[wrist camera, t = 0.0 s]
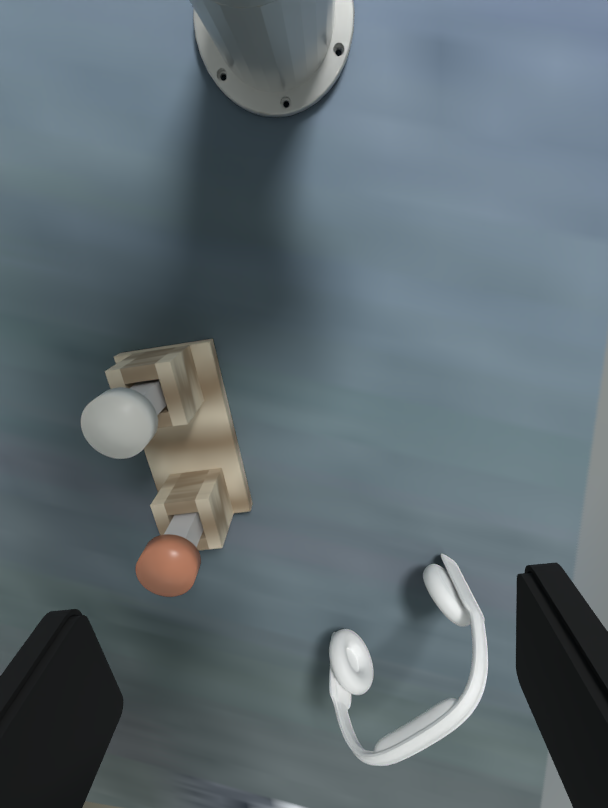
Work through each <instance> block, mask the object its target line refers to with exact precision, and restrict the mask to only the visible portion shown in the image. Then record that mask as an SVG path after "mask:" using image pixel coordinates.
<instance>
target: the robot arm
mask: <svg viewBox="0 0 608 808" xmlns="http://www.w3.org/2000/svg"><path fill="white" fill-rule="evenodd" d="M189 1H190V2H191V4H192V6H193V7H194V8H193V21H194V29H195V37H196V41H197V45H198V48H199V52H200V55H201V58H202V60H203V62H204V64H205V66H206V68H207V71H208V73H209V74H210V76H211V77H212V79H213V80H214V82H215V83H216V84H217V86H218V87H219V88H220V89H221V91H222V92H223V93H224V94H225V95H226V96H227V97H228V98H229V99H231V100H232V101H233V102H234V103H235V104H236V105H238V106H240V107H242V108H243V109H245V110H247V111H249V112H251V113H254V114H258V115H261V116H266V117H284V116H291V115H294V114H297V113H299V112H302V111H304V110H306V109H308V108H309V107H311V106H312V105H314V104H316V103H317V102H318V101H319V100H320V99H321V98H322V97H324V96H325V95H326V94H327V93H328V92H329V90H330V89H331V88H332V86H333V85H334V83H335V82H336V81H337V79H338V78H339V76H340V74H341V72H342V70H343V68H344V65H345V63H346V61H347V57H348V54H349V51H350V47H351V43H352V36H353V29H354V2H353V0H189ZM337 50H340V51H341V53H342V54H341V55H340V56H337V55H336V54H335V52H336V51H337ZM223 75H226V76H227V78H226V80H225V81H222V80H221V77H222V76H223ZM285 102H288V103H289V107H288V108H285V107H284V106H283V105H284V103H285ZM516 671H517V676H518V680H519V683H520V686H521V688H522V690H523V693H524V695H525V697H526V700H527V702H528V704H529V707H530V709H531V711H532V714H533V716H534V718H535V720H536V723H537V725H538V727H539V730H540V732H541V734H542V737H543V739H544V741H545V743H546V746H547V748H548V750H549V753H550V755H551V757H552V760H553V762H554V764H555V767H556V769H557V771H558V773H559V776H560V778H561V780H562V783H563V785H564V787H565V790H566V792H567V794H568V796H569V799H570V801H571V803H572V806H573V808H608V631H607V630H606V629H605V627H604V626H603V625H602V623H601V622H600V620H599V619H598V618H597V616H596V615H595V613H594V612H593V611H592V609H591V608H590V607H589V605H588V604H587V602H586V601H585V599H584V598H583V596H582V595H581V594H580V592H579V591H578V589H577V588H576V587H575V585H574V584H573V582H572V581H571V580H570V578H569V577H568V575H567V574H566V573H565V571H564V570H563V568H562V567H561V566H560V565H559V564H558V563H547V564H537V565H528V566H526V568H525V573H523V574H518V575H517V611H516ZM122 710H123V696H122V694H121V691H120V689H119V687H118V685H117V682H116V680H115V678H114V676H113V673H112V671H111V669H110V667H109V664H108V662H107V660H106V658H105V655H104V653H103V651H102V649H101V647H100V644H99V642H98V640H97V638H96V635H95V633H94V631H93V629H92V626H91V624H90V622H89V620H88V618H87V617H86V616H85V615H82V613H81V612H80V611H79V610H77V609H71V610H61V611H51V612H49V613H47V614H46V615H45V616H44V617H43V619H42V620H41V621H40V623H39V624H38V625H37V627H36V628H35V630H34V631H33V632H32V634H31V635H30V636H29V638H28V639H27V641H26V642H25V643H24V645H23V646H22V647H21V649H20V650H19V651H18V653H17V654H16V656H15V657H14V658H13V660H12V661H11V662H10V664H9V665H8V667H7V668H6V669H5V671H4V672H3V673H2V675H1V676H0V808H82V807H83V805H84V802H85V800H86V798H87V795H88V793H89V790H90V788H91V786H92V783H93V781H94V779H95V776H96V774H97V771H98V769H99V767H100V764H101V762H102V759H103V757H104V755H105V752H106V750H107V748H108V745H109V743H110V740H111V738H112V736H113V733H114V731H115V729H116V726H117V724H118V721H119V719H120V717H121V714H122Z"/></svg>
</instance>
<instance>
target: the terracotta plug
mask: <svg viewBox="0 0 608 808" xmlns="http://www.w3.org/2000/svg"><path fill="white" fill-rule="evenodd" d="M202 533H203V526H202V523H201V519H200V516H199V513H198V512H194V513H185V514H177V515H174V516H173V518H172V520H171V522H170V524H169V526H168V528H167V529H166V531H165V533H164V535H160V536H157V537H155V538H153V539H152V540H151V541H149V543H148V544H147V545H146V547H145V549H144V551H143V552H142V554H141V556H140V558H139V560H138V561H137V564H136V575H137V578H138V580H139V581H140V583H141V584H142V585H143V586H144V587H145V588H146V589H147V590H149V591H151V592H152V593H155V594H157V595H161V596H166V597H173V596H179V595H182V594H184V593H186V592H187V591H188V590H189V589H190V588H191V587H192V586H193V584H194V581H195V578H196V576H197V573H198V570H199V568H200V564H201V557H200V553H199V551H198V549H197V548H196V547H197V545H198V542H199V540H200V537H201V535H202Z"/></svg>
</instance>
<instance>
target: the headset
mask: <svg viewBox="0 0 608 808" xmlns="http://www.w3.org/2000/svg"><path fill="white" fill-rule="evenodd" d="M441 558H442V560H443V562H444V565H445V567H446V569H447V571H448V572H447V571H446V570H445V569H444V568H443V567H441V566H439V565H437V564H430V565H428V566H427V567H426V568H425V570H424V572H423V580H424V583H425V586H426V588H427V590H428V592H429V594H430V596H431V597H432V599H433V601H434V602H435V603H436V605H437V606H438V608H439V609H440V610H441V611H442V612H443V614H444V615H445V616H446V617H447V618H448V619H449V620H450V621H452V622H453V623H454V624H456V625H458V626H462V627H463V626H468V625H469V624H471V631H472V665H471V671H470V675H469V679H468V682H467V685H466V687H465V689H464V691H463V693H462V694H461V696H460V697H459V699H458V700H457V699H455V698H448V699H445V700H443V701H441V702H439V703H438V704H436V705H434V706H433V707H431V708H430V709H428V710H427V711H425V712H424V713H422V714H421V715H419V716H418V717H416V718H415V719H413V720H411V721H410V722H408V723H407V724H405V725H403V726H402V727H400V728H398V729H396V730H395V731H393V732H391V733H389V734H387V735H386V736H384V737H382V738H381V739H380V740H379V741H378V742H377V744H376V745H375V748H374V751H367V750H364V748H363V747H362V746H361V744H360V743H359V741H358V739H357V737H356V735H355V733H354V730H353V727H352V724H351V721H350V717H349V714H348V709H349V708H350V705H351V694H354V695H361V694H364V693H365V692H367V691H368V689H369V688H370V686H371V684H372V681H373V664H372V659H371V656H370V653H369V651H368V649H367V647H366V645H365V643H364V642H363V640H362V639H361V638H360V636H359V635H358V634H356V633H355V632H354V631H352V630H350V629H341V630H339V631H337V632H333V633H332V636H331V641H330V646H329V658H330V678H329V689H330V695H331V698H332V700H333V703H334V707H335V711H336V715H337V719H338V723H339V726H340V729H341V732H342V734H343V737H344V739H345V741H346V743H347V744H348V746H349V747H350V748H351V750H352V751H353V753H354V754H355V755H356V757H357V758H358V759H360V760H361V761H362V762H364V763H366V764H369V765H377V766H386V765H391V764H394V763H397V762H400V761H402V760H404V759H406V758H408V757H410V756H412V755H414V754H416V753H418V752H420V751H422V750H423V749H425V748H427V747H429V746H430V745H432V744H434V743H435V742H437V741H439V740H440V739H442V738H443V737H445V736H446V735H448V734H449V733H451V732H452V731H453V730H455V729H456V728H457V727H459V726H460V725H461V724H462V723H463V722H464V721H465V720H466V719H467V718H468V717H469V716H470V715H471V714H472V712H473V711H474V710H475V708H476V707H477V705H478V703H479V701H480V699H481V697H482V695H483V692H484V688H485V684H486V679H487V671H488V650H487V639H486V632H485V625H484V620H485V618H484V616H483V614H482V612H481V610H480V608H479V606H478V604H477V602H476V600H475V598H474V596H473V594H472V592H471V590H470V588H469V586H468V584H467V582H466V581H465V579H464V577H463V575H462V573H461V571H460V569H459V567H458V565H457V564H456V562H455V561H454V560H452V559H451V558H449V557H448V556H446V555H444V554H441Z"/></svg>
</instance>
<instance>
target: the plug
mask: <svg viewBox="0 0 608 808" xmlns="http://www.w3.org/2000/svg"><path fill="white" fill-rule="evenodd" d="M166 405H167V404H166V401H165V397H164V394H163V391H162V387H161V384H160V380H159V379H156V380H149V381H142V382H137V383H135V384H134V385H133V386H132V387H130V388H124V387H118V388H112V389H109V390H107V391H105V392H104V393H102V394H101V395H99V396H98V397H97V398H95V399H94V400H93V401H91V402H90V403H89V404H88V405H87V406H86V407H85V409H84V410H83V412H82V416H81V429H82V432H83V435H84V437H85V438H86V440H87V441H88V443H89V444H90V445H91V446H92V447H93V448H94V449H95V450H96V451H98V452H99V453H101V454H103V455H105V456H108V457H111V458H116V459H125V458H130V457H133V456H135V455H137V454H138V453H140V452H141V451H142V450H143V449H144V448H145V446H146V445H147V444H148V443H149V442H150V440H151V439H152V438H153V437H154V435H155V433H156V431H157V428H158V416H157V415H158V414H159V413H160V412H161V411H162V410H163V409H164V408H165V407H166Z"/></svg>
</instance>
